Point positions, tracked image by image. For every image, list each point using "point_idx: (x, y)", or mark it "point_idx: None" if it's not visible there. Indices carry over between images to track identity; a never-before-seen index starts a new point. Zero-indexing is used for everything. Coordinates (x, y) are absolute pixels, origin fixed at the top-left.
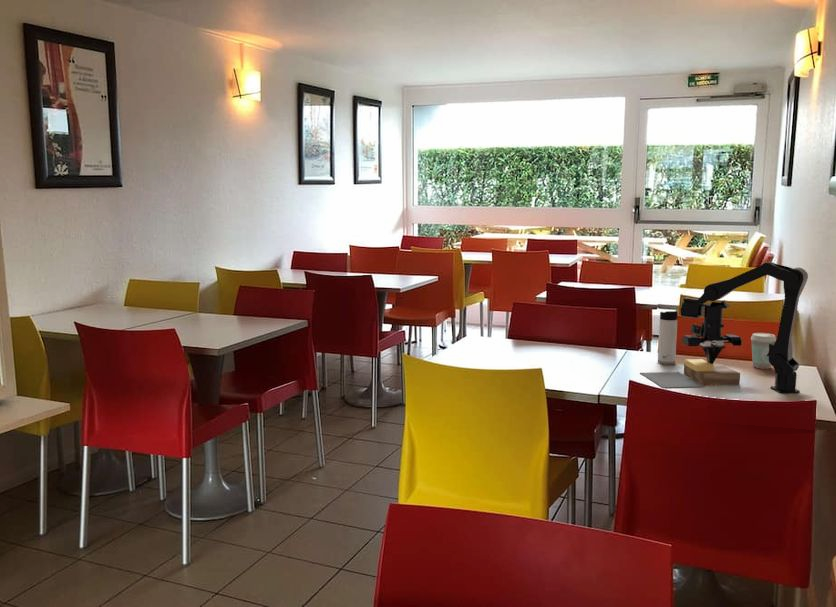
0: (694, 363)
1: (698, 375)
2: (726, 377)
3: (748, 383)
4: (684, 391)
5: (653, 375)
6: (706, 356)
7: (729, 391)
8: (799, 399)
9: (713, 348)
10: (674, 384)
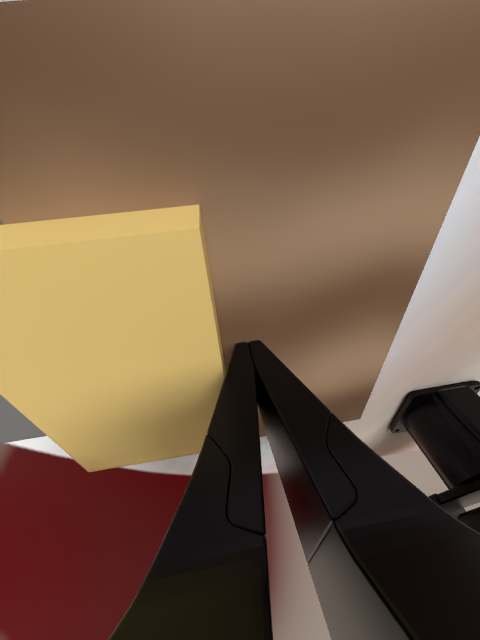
0: (68, 434)
1: None
2: None
3: None
4: (69, 457)
5: None
6: (214, 429)
7: None
8: (385, 453)
9: (345, 614)
10: (4, 412)
